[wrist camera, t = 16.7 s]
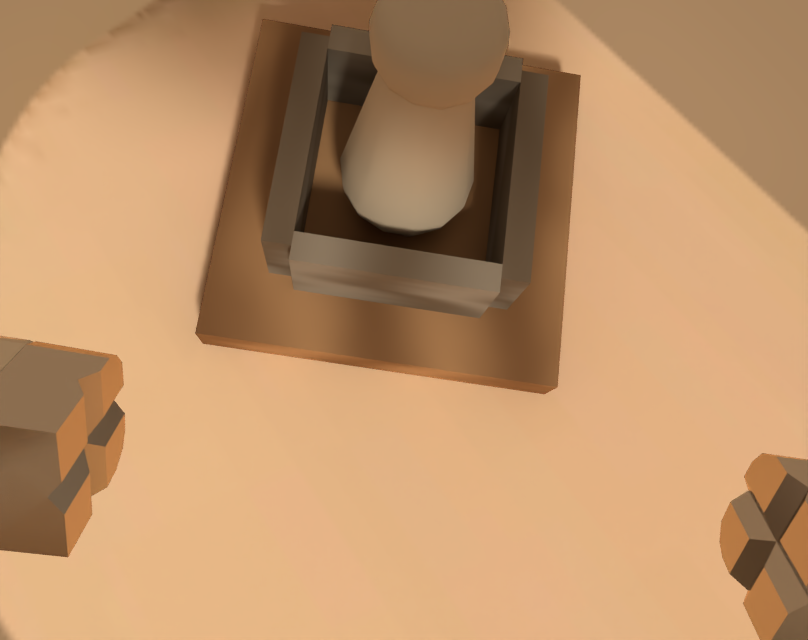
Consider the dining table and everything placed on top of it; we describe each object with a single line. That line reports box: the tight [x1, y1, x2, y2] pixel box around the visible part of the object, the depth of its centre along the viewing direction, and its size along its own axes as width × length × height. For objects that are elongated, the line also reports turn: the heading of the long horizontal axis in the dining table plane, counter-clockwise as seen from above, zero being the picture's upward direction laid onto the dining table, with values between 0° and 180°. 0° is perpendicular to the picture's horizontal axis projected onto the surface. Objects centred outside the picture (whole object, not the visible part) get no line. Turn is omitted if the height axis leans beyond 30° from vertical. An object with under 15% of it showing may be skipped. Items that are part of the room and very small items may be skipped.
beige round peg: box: [340, 0, 510, 237], centre depth 27 cm, size 6×6×13 cm
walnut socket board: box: [195, 19, 581, 394], centre depth 32 cm, size 16×16×6 cm
